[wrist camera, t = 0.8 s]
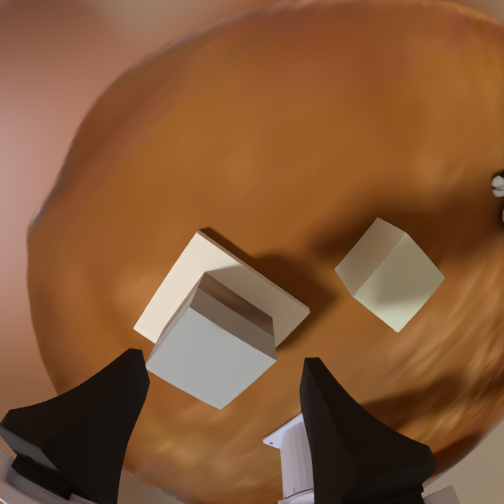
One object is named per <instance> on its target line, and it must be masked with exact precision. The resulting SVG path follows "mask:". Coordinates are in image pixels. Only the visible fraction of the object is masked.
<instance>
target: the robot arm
mask: <svg viewBox="0 0 504 504" xmlns="http://www.w3.org/2000/svg"><path fill="white" fill-rule="evenodd" d="M149 384H150V380H149V377H148V373H147V369H146V365H145V361H144V357H143V353H142V350H139V349H132V348H130V349H128V350H127V351H125V352H124V353H123V354H121V355H120V356H119V357H118V358H116V359H115V360H114V361H113V362H111V363H110V364H109V365H107V366H106V367H105V368H103V369H102V370H101V371H100V372H98V373H97V374H95V375H94V376H92V377H91V378H89V379H88V380H87V381H85V382H84V383H82V384H80V385H79V386H77V387H75V388H73V389H72V390H70V391H68V392H66V393H64V394H62V395H59V396H57V397H55V398H53V399H50V400H47V401H45V402H42V403H38V404H35V405H32V406H28V407H23V408H17V409H12V410H9V411H8V413H7V414H6V415H5V417H4V418H3V420H2V421H1V422H0V435H1V437H2V438H3V439H4V440H5V442H6V443H7V444H8V445H9V447H10V448H11V449H12V450H13V451H14V452H15V453H16V454H17V457H16V459H14V458H13V457H12V456H10V455H9V454H7V453H6V452H4V451H3V450H1V449H0V500H1V501H2V502H3V503H5V504H117V497H118V488H119V481H120V474H121V470H122V465H123V460H124V456H125V452H126V448H127V444H128V441H129V438H130V435H131V433H132V431H133V428H134V426H135V423H136V421H137V419H138V416H139V414H140V412H141V409H142V407H143V404H144V402H145V399H146V395H147V392H148V388H149ZM299 391H300V402H301V411H302V413H300V414H299V415H298V416H296V417H295V418H294V419H292V420H291V421H289V422H288V423H286V424H285V425H284V426H282V427H281V428H279V429H278V430H276V431H275V432H273V433H272V434H270V435H269V436H267V437H266V438H264V439H263V442H264V443H265V444H267V445H270V446H273V447H276V448H279V449H280V450H281V465H282V480H283V496H284V500H280V501H278V504H460V502H459V499H458V497H457V495H456V492H455V490H454V488H453V486H449V487H447V488H444V489H442V490H440V491H437V492H435V493H432V494H430V495H428V496H427V497H425V498H422V495H421V493H422V492H423V491H424V489H423V486H422V483H423V482H424V481H425V480H426V479H427V478H428V477H429V476H430V475H431V474H432V473H433V472H434V471H435V469H436V467H437V462H436V460H435V458H434V455H433V453H432V451H431V450H430V448H429V446H427V445H425V444H422V443H420V442H417V441H415V440H412V439H410V438H408V437H406V436H404V435H402V434H400V433H398V432H396V431H394V430H393V429H391V428H389V427H388V426H386V425H385V424H383V423H382V422H380V421H379V420H377V419H376V418H374V417H373V416H372V415H371V414H369V413H368V412H367V411H366V410H365V409H363V408H362V407H361V406H360V405H359V404H358V403H357V402H356V401H355V400H354V399H353V398H352V397H351V396H350V395H349V394H348V393H347V392H346V391H345V390H344V388H343V387H342V386H341V385H340V384H339V383H338V381H337V380H336V379H335V378H334V377H333V375H332V374H331V373H330V371H329V370H328V369H327V367H326V366H325V365H324V363H323V362H322V361H321V359H320V358H319V357H315V358H305V360H304V366H303V373H302V378H301V384H300V390H299Z"/></svg>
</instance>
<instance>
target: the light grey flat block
mask: <svg viewBox="0 0 504 504" xmlns="http://www.w3.org/2000/svg"><path fill="white" fill-rule="evenodd" d="M276 361H277V360H276V349H275V339H274V336H272V335H270V334H269V333H267V332H266V331H264V330H262V329H261V328H259V327H258V326H256V325H254V324H253V323H251V322H250V321H248V320H247V319H245V318H243V317H242V316H240V315H239V314H237V313H236V312H234V311H233V310H231V309H230V308H228V307H226V306H225V305H223V304H222V303H220V302H219V301H217V300H216V299H214V298H213V297H211V296H210V295H208V294H207V293H206V292H204V291H203V290H201V289H200V288H197V289H196V290H195V292H194V293H193V294H192V296H191V297H190V298H189V300H188V301H187V302H186V304H185V305H184V306H183V308H182V309H181V311H180V312H179V313H178V315H177V316H176V317H175V319H174V320H173V321H172V323H171V324H170V326H169V327H168V328H167V330H166V331H165V332H164V334H163V335H162V337H161V338H160V339H159V341H158V342H157V343H156V345H155V346H154V348H153V351H152V353H151V355H150V357H149V359H148V361H147V363H146V369H147V370H149V371H151V372H152V373H154V374H155V375H157V376H159V377H160V378H162V379H164V380H165V381H167V382H169V383H171V384H172V385H174V386H176V387H178V388H179V389H181V390H183V391H185V392H187V393H189V394H190V395H192V396H194V397H196V398H198V399H200V400H202V401H204V402H206V403H208V404H210V405H212V406H214V407H216V408H218V409H220V410H221V409H222V408H223V407H225V406H226V405H227V404H228V403H229V402H231V401H232V400H233V399H234V398H235V397H237V396H238V395H239V394H240V393H241V392H242V391H243V390H245V389H246V388H247V387H248V386H249V385H250V384H251V383H253V382H254V381H255V380H256V379H257V378H258V377H259V376H260V375H262V374H263V373H264V372H265V371H266V370H267V369H268V368H269V367H270V366H271V365H272V364H274V363H275V362H276Z"/></svg>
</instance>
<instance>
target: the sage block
mask: <svg viewBox="0 0 504 504" xmlns="http://www.w3.org/2000/svg"><path fill="white" fill-rule="evenodd" d="M334 270H335V271H336V273H337V274H338V275H339V277H340V278H341V280H342V281H343V283H344V284H345V286H346V287H347V289H348V290H349V292H350V293H351V295H352V296H353V297H354V298H355V299H356V300H358V301H359V302H360V303H361V304H363V305H364V306H365V307H366V308H368V309H369V310H370V311H371V312H373V313H374V314H375V315H376V316H378V317H379V318H380V319H381V320H383V321H384V322H385V323H386V324H388V325H389V326H390V327H391V328H393V329H394V330H395V331H396V332H397V333H398V332H399V331H400V330H401V329H402V328H403V327H404V326H405V325H406V324H407V322H408V321H409V320H410V319H411V318H412V317H413V316H414V315H415V314H416V313H417V311H418V310H419V309H420V308H421V307H422V306H423V305H424V303H425V302H426V301H427V300H428V299H429V297H430V296H431V295H432V294H433V293H434V291H435V290H436V289H437V288H438V286H439V285H440V284H441V283H442V281H443V280H444V279H445V277H444V276H443V274H442V273H441V272H440V271H439V270H438V268H437V267H436V266H435V265H434V264H433V262H432V261H431V260H430V259H429V258H428V257H427V255H426V254H425V253H424V252H423V251H422V250H421V249H420V247H419V246H418V245H417V244H416V243H415V242H414V241H413V240H412V238H411V237H410V236H409V235H408V234H407V233H406V232H404V231H402V230H401V229H399V228H397V227H395V226H393V225H391V224H389V223H388V222H386V221H384V220H382V219H380V218H378V217H377V218H376V220H375V221H374V222H373V223H372V225H371V226H370V227H369V228H368V230H367V231H366V232H365V233H364V235H363V236H362V237H361V238H360V240H359V241H358V242H357V243H356V244H355V246H354V247H353V248H352V249H351V250H350V252H349V253H348V254H347V255H346V256H345V258H344V259H343V260H342V261H341V262H340V263H339V265H338V266H337V267H336V268H335V269H334Z"/></svg>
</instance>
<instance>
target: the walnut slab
mask: <svg viewBox="0 0 504 504" xmlns="http://www.w3.org/2000/svg"><path fill="white" fill-rule="evenodd" d="M197 288H200V289H201V290H203V291H204V292H206V293H207V294H208V295H210V296H211V297H213V298H214V299H216V300H217V301H219V302H220V303H222V304H223V305H225V306H226V307H228V308H230V309H231V310H233V311H234V312H236V313H237V314H239V315H240V316H242V317H243V318H245V319H247V320H248V321H250V322H251V323H253V324H254V325H256V326H258V327H259V328H261V329H262V330H264V331H266V332H267V333H269V334H270V335H272V336H274V328H273V318H272V317H271V316H269V315H268V314H266V313H265V312H263V311H262V310H260V309H258V308H257V307H255V306H254V305H252V304H251V303H249V302H248V301H246V300H245V299H243V298H242V297H240V296H239V295H237V294H236V293H235V292H233V291H232V290H230V289H229V288H227V287H226V286H224V285H223V284H221V283H220V282H218V281H217V280H215V279H214V278H213V277H211V276H210V275H208V274H207V273H205V272H204V273H203V275H202V276H201V277H200V279H199V280H198V281H197V283H196V284H195V285H194V287H193V288H192V289H191V291H190V292H189V294H188V295H187V296H186V298H185V299H184V300H183V302H182V303H181V304H180V306H179V307H178V309H177V310H176V311H175V313H174V314H173V316H172V317H171V318H170V320H169V321H168V322H167V324H166V325H165V327H164V328H163V330H162V332H161V334H160V336H159V338H158V340H157V342H158V341H159V339H160V338H161V337H162V335H163V334H164V332H165V331H166V330H167V328H168V327H169V326H170V324H171V323H172V321H173V320H174V319H175V317H176V316H177V315H178V313H179V312H180V311H181V309H182V308H183V306H184V305H185V304H186V302H187V301H188V300H189V298H190V297H191V296H192V294H193V293H194V292H195V290H196V289H197ZM157 342H156V343H157ZM155 345H156V344H155Z"/></svg>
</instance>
